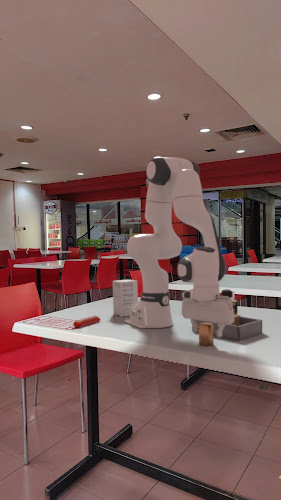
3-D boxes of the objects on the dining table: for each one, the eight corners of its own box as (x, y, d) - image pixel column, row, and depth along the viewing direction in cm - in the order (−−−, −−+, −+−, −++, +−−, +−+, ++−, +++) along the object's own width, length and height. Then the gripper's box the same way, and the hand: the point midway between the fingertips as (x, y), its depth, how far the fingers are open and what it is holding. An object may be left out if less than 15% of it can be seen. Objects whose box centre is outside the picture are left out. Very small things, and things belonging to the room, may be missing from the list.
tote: (192, 330, 148) (192, 318, 147) (216, 324, 158) (216, 312, 158) (239, 340, 131) (238, 326, 131) (262, 332, 142) (262, 319, 142)
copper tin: (196, 344, 128) (195, 324, 128) (205, 341, 131) (204, 322, 131) (207, 347, 124) (207, 326, 124) (216, 344, 128) (216, 324, 127)
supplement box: (138, 314, 181) (138, 280, 181) (122, 317, 176) (121, 282, 176) (128, 311, 189) (128, 279, 189) (112, 314, 184) (112, 280, 184)
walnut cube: (222, 328, 147) (222, 315, 147) (230, 325, 151) (229, 313, 151) (233, 330, 144) (233, 317, 144) (240, 327, 147) (240, 315, 147)
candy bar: (77, 329, 155) (77, 322, 155) (71, 328, 157) (71, 321, 157) (102, 321, 169) (101, 315, 168) (95, 321, 171) (95, 314, 170)
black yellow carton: (222, 316, 173) (222, 291, 173) (218, 313, 180) (218, 289, 180) (237, 316, 174) (237, 290, 173) (233, 313, 181) (233, 288, 180)
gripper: (237, 295, 122) (238, 337, 122) (190, 291, 137) (191, 328, 137) (226, 297, 117) (227, 341, 118) (178, 292, 133) (179, 331, 133)
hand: (207, 334), depth 127 cm, fingers open, 8 cm apart
